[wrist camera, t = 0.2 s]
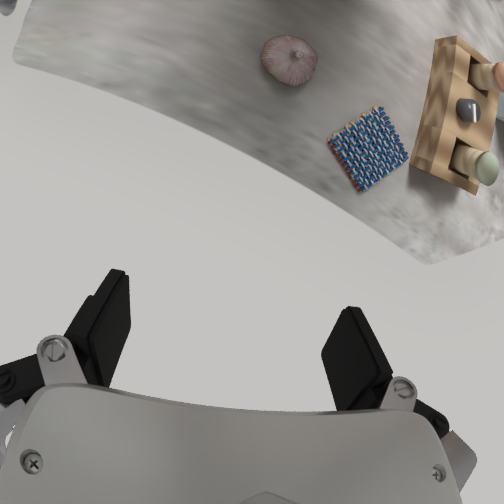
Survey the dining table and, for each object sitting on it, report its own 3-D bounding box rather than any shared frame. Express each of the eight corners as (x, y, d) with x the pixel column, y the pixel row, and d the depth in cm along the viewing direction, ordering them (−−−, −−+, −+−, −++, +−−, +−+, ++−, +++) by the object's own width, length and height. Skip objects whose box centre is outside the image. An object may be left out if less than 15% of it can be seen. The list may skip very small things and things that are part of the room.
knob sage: (451, 137, 33) (484, 147, 26) (469, 148, 33) (501, 160, 27) (443, 165, 35) (476, 179, 28) (462, 175, 36) (493, 189, 29)
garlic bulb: (313, 88, 34) (331, 83, 27) (260, 87, 34) (266, 81, 27) (310, 40, 31) (327, 25, 24) (258, 38, 31) (263, 21, 23)
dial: (454, 96, 28) (466, 97, 26) (469, 99, 28) (481, 101, 26) (456, 119, 30) (467, 121, 28) (471, 121, 30) (482, 124, 28)
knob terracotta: (465, 57, 26) (498, 56, 19) (483, 72, 27) (515, 73, 20) (462, 81, 28) (496, 83, 21) (480, 95, 29) (513, 99, 22)
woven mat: (322, 138, 38) (326, 139, 36) (375, 102, 35) (381, 103, 34) (357, 193, 42) (362, 197, 40) (405, 159, 39) (412, 161, 38)
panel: (435, 39, 29) (457, 35, 23) (480, 72, 30) (501, 73, 25) (409, 164, 39) (429, 173, 34) (455, 185, 41) (475, 195, 36)
